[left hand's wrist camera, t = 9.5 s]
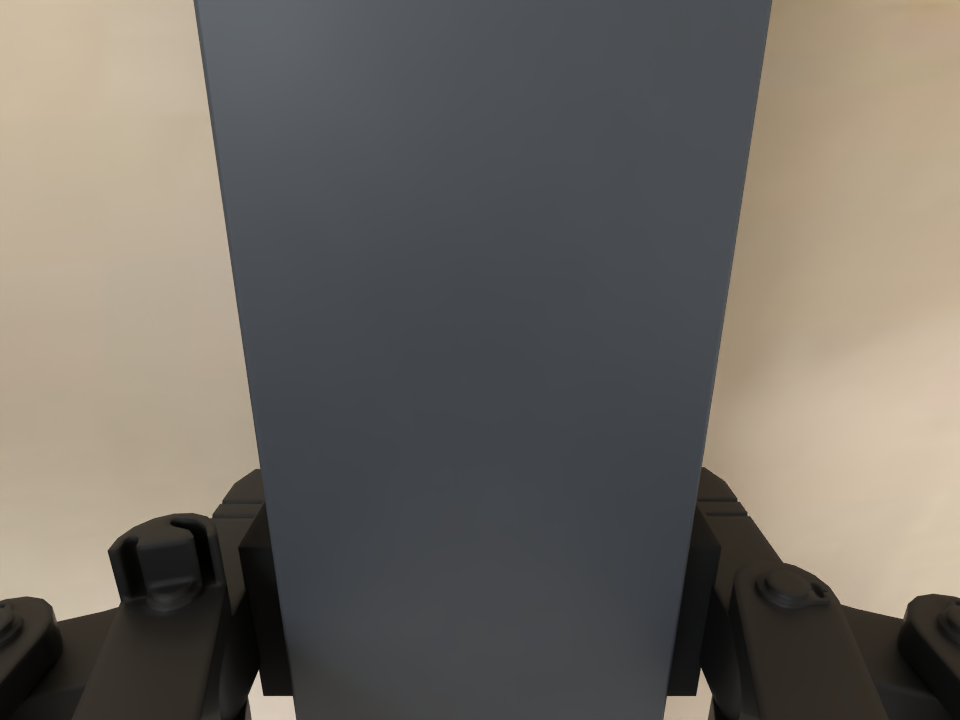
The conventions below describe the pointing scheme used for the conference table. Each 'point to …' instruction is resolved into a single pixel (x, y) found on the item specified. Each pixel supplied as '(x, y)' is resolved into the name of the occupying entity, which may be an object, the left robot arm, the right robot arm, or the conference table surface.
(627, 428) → the beam
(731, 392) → the conference table surface
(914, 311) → the conference table surface
